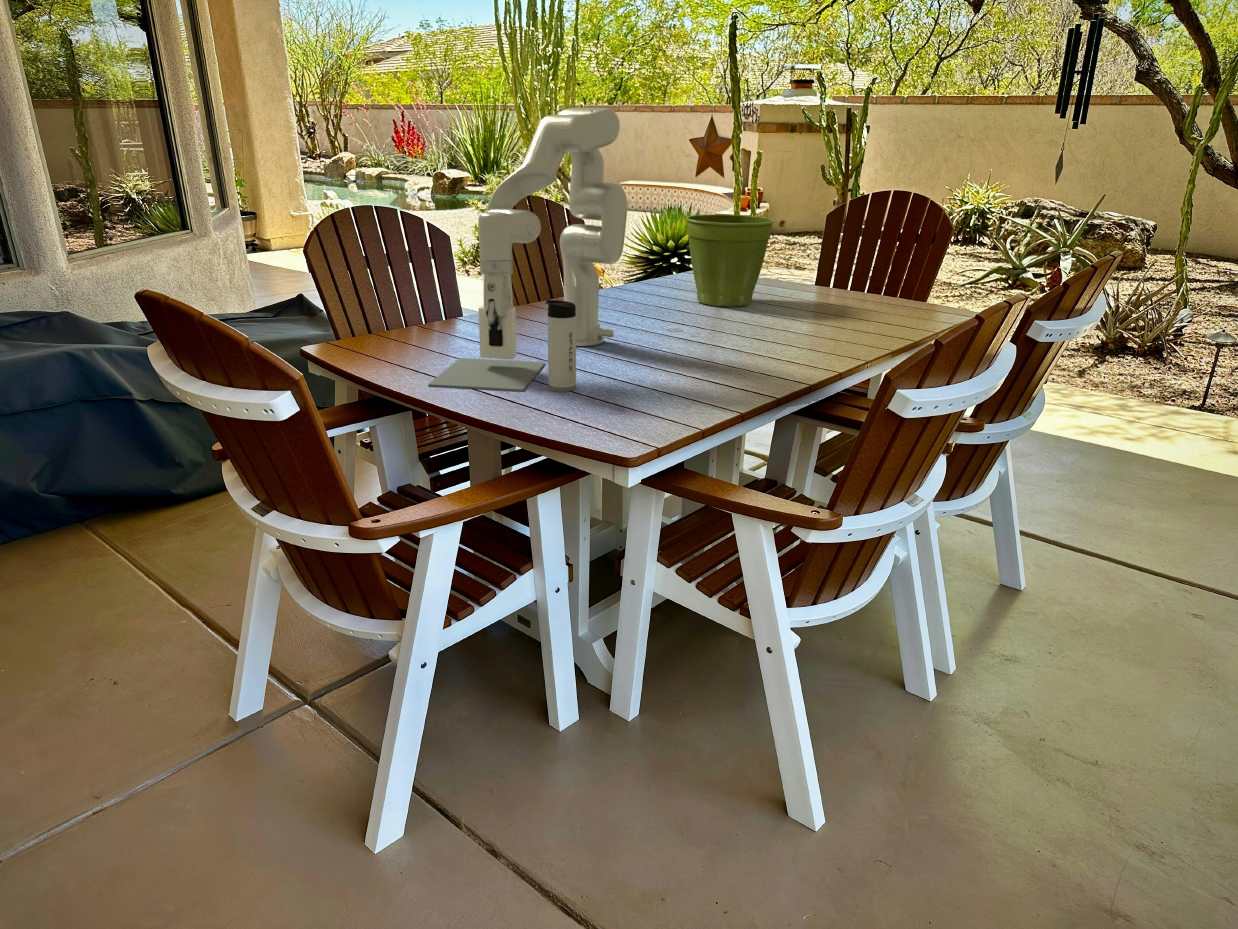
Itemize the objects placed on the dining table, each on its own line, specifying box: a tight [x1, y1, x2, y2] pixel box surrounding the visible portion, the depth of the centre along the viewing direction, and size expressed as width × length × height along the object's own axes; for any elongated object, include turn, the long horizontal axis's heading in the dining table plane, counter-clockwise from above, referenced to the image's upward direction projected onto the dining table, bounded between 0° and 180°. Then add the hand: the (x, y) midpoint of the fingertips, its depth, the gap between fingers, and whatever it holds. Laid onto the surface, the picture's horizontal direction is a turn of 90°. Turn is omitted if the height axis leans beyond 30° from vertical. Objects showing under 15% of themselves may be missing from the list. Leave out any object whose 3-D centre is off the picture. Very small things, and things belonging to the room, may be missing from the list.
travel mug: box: [545, 299, 577, 393], centre depth 181 cm, size 6×7×20 cm
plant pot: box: [685, 214, 775, 307], centre depth 281 cm, size 30×30×29 cm
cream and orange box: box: [478, 304, 518, 360], centre depth 196 cm, size 8×4×12 cm, turn 83°
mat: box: [428, 357, 546, 392], centre depth 194 cm, size 22×24×1 cm
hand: (498, 342), depth 197 cm, fingers closed on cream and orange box, 4 cm apart
